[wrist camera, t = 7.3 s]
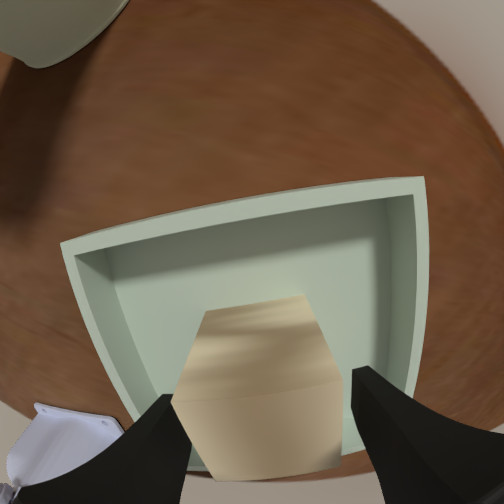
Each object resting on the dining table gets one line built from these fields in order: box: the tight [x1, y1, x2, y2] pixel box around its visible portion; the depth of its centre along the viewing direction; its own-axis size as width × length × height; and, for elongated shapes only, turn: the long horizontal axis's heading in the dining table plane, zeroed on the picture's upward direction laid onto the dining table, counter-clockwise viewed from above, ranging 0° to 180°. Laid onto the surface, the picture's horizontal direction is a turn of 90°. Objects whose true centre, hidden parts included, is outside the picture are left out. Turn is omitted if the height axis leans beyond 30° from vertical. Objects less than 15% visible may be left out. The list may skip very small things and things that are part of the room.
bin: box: [60, 176, 429, 471], centre depth 12 cm, size 14×14×3 cm
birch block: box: [171, 294, 343, 481], centre depth 9 cm, size 4×4×6 cm
